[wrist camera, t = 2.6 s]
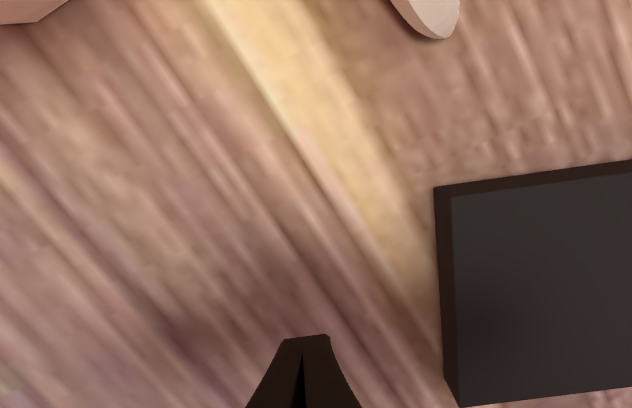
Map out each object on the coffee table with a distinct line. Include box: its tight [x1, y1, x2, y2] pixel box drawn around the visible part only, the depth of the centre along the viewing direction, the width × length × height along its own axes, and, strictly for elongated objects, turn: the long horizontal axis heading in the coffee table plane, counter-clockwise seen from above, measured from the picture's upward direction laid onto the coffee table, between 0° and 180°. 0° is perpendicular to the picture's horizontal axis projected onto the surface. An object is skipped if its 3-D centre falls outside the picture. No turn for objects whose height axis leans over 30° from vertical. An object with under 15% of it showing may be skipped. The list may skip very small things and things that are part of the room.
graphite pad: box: [434, 160, 632, 408], centre depth 12 cm, size 10×8×2 cm
